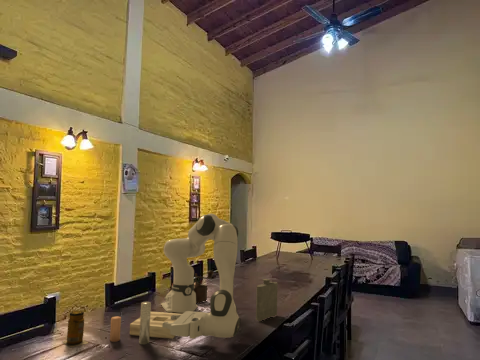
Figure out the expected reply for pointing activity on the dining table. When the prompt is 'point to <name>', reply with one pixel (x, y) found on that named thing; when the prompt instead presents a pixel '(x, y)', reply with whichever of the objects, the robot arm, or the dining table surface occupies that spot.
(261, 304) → the hip flask
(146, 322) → the tall metal pin
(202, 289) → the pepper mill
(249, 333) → the dining table surface
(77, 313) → the condiment
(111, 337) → the short terracotta pin
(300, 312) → the dining table surface
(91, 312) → the dining table surface
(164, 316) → the hole block
